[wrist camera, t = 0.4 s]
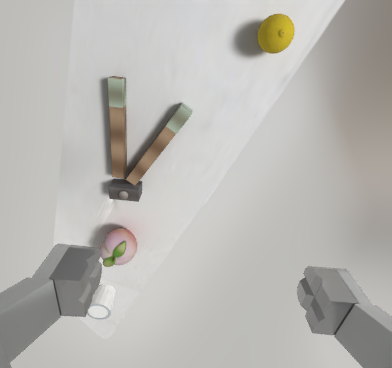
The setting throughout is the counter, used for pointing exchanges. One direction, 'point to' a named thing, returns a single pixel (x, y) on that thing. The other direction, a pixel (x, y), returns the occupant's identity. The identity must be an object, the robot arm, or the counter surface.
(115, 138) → the tongs base
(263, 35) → the lemon
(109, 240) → the decorative fruit
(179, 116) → the tongs arm
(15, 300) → the robot arm
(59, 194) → the counter surface
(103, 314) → the shot glass
